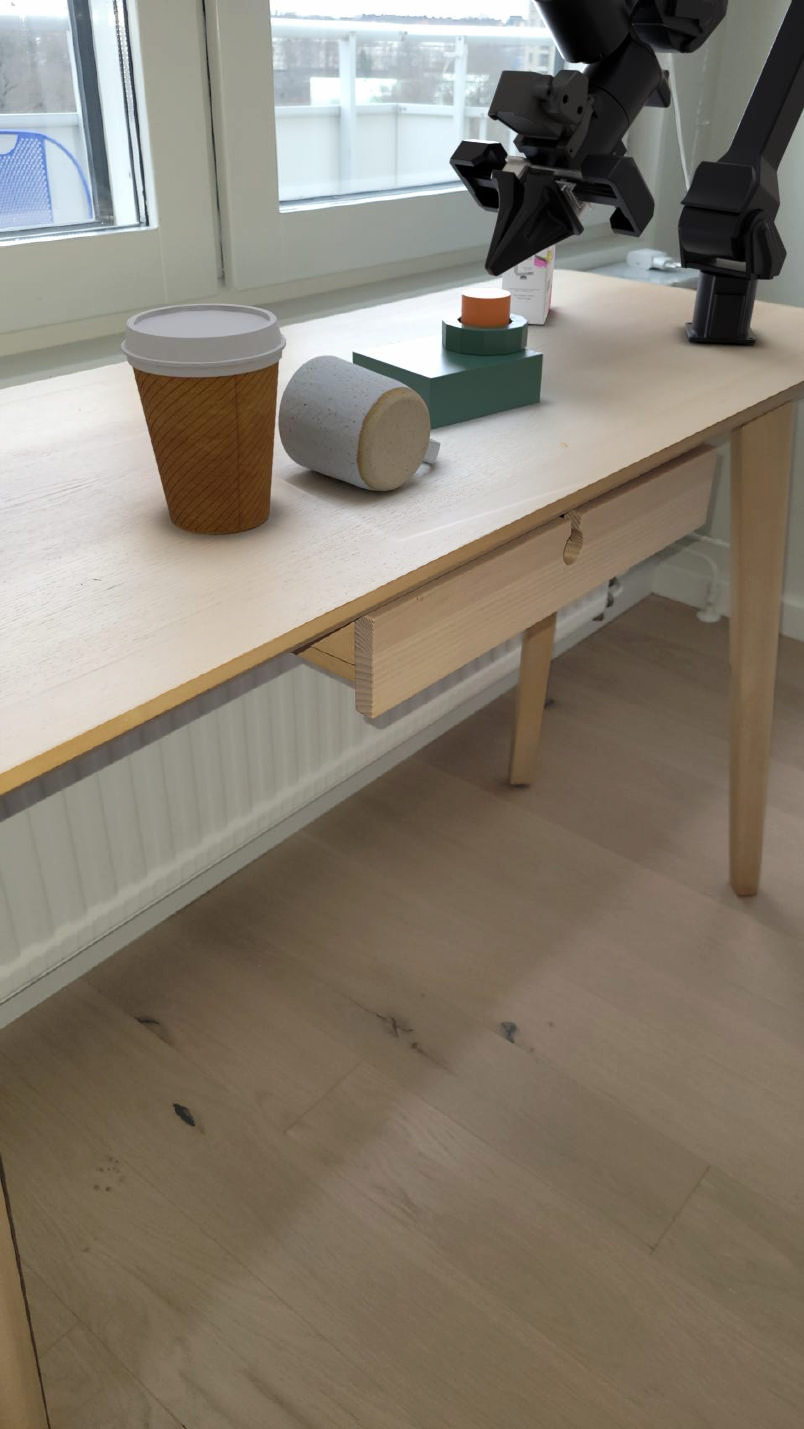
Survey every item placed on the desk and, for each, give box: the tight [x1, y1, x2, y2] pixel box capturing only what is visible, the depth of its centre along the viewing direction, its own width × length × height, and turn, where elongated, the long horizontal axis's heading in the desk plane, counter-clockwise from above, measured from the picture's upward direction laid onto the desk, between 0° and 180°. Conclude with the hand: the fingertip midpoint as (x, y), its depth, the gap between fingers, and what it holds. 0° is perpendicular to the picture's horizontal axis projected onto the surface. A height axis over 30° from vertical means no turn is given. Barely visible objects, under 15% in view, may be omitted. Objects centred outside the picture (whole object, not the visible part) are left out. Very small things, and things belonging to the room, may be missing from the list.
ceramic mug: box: [277, 354, 441, 492], centre depth 72 cm, size 11×8×8 cm
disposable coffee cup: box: [120, 303, 287, 535], centre depth 65 cm, size 10×10×12 cm
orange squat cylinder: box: [460, 287, 511, 327], centre depth 88 cm, size 4×4×2 cm
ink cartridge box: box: [501, 244, 556, 325], centre depth 112 cm, size 9×5×15 cm, turn 168°
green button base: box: [351, 311, 544, 430], centre depth 88 cm, size 14×10×6 cm
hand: (490, 272), depth 86 cm, fingers closed
